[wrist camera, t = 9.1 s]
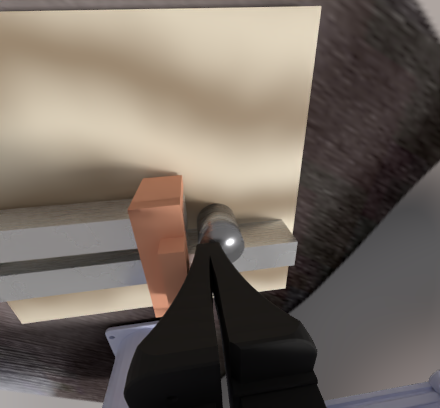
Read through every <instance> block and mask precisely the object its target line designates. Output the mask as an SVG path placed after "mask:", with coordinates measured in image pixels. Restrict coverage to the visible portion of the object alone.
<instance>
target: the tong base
mask: <svg viewBox="0 0 440 408" xmlns="http://www.w3.org/2000/svg"><path fill="white" fill-rule="evenodd" d="M211 242H219V243H220V245H221V247H222V249H223V251H224V252H225V254H226V255H227V257H228V258H229V260H230V261H231V263H232V264H233V265H234V267H235V268H236V269H237V270H238V272H243V271H251V270H259V269H267V268H275V267H283V266H291V265H294V263H295V256H296V249H297V242H298V241H297V240H296V239H295V237H294V236H293V234H292V233H291V232H290V230H289V229H288V227H287V226H286V225H285V223H284V222H283V220H282V219H281V220H271V221H262V222H253V223H243V224H237V221H236V218H235V215H234V213H233V211H232V210H231V209H230V208H229V207H228V206H226V205H224V204H218V203H216V204H210V205H208V206H206V207H204V208H203V209H202V210H201V211H200V212H199V214H198V216H197V228H196V229H188V243H187V248H188V256H189V263H190V267H191V264H192V261H193V258H194V255H195V250H196V245H197V244H202V243H211ZM141 284H147V282H146V278H145V274H144V270H143V267H142V263H141V259H140V255H139V252H138V248H137V249H127V250H118V251H109V252H99V253H90V254H81V255H71V256H62V257H52V258H43V259H34V260H24V261H15V262H6V263H0V302H7V301H15V300H23V299H30V298H38V297H46V296H54V295H62V294H70V293H78V292H86V291H94V290H101V289H109V288H117V287H125V286H133V285H141Z"/></svg>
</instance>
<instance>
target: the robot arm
mask: <svg viewBox="0 0 440 408" xmlns="http://www.w3.org/2000/svg"><path fill="white" fill-rule="evenodd" d="M213 297H214V301H215V306H216V310H217V315H218V320H219V325H220V330H221V338H222V346H223V354H224V362H225V370H226V378H227V386H228V394H229V403H230V408H440V370H437V371H436V372H434V373H433V374H432V375H431V376H430V378H429V381H428V382H423V383H417V384H412V385H407V386H402V387H396V388H391V389H385V390H380V391H375V392H369V393H364V394H358V395H353V396H347V397H342V398H337V399H332V400H326V401H324V400H323V398H322V396H321V393H320V391H319V389H318V386H317V383H318V380H317V377H316V375H315V373H314V371H313V368H314V364H315V360H316V357H317V349H316V346H315V344H314V342H313V340H312V338H311V337H310V335H309V333H308V332H307V330H306V329H305V327H304V326H303V324H302V323H301V322H300V321H298V320H297V319H295V318H294V317H292V316H290V315H289V314H287V313H285V312H284V311H282V310H281V309H279V308H278V307H277V306H275V305H274V304H273V303H271V302H270V301H269V300H268V299H266V298H265V297H264V296H263V295H261V294H260V293H259V292H258V291H257V290H256V289H255V288H253V287H252V286H251V285H250V284H249V283H248V282H247V281H246V280H245V278H244V277H243V276H242V275H241V274H240V273H239V272H238V270H237V269H236V268H235V267H234V265H233V264H232V263H231V261H230V260H229V258H228V257H227V255H226V254H225V252H224V251H223V249H222V247H221V245H220V243H219V242H211V243H202V244H197V245H196V250H195V255H194V258H193V261H192V264H191V267H190V269H189V272H188V274H187V276H186V279H185V281H184V283H183V285H182V287H181V289H180V290H179V292H178V294H177V296H176V297H175V299H174V300H173V302H172V304H171V305H170V307H169V308H168V310H167V311H166V312H165V314H164V315H163V316H162V318H161V319H160V320H159V321H152V322H145V323H138V324H131V325H124V326H117V327H110V328H108V329H107V330H106V332H105V335H106V338H107V340H108V342H109V344H110V346H111V349H112V351H113V353H114V355H115V357H116V358H115V361H114V365H113V369H112V373H111V376H110V380H109V384H108V388H107V391H106V395H105V399H104V403H103V407H102V408H223V405H222V390H221V376H220V363H219V354H218V345H217V338H216V330H215V323H214V315H213Z"/></svg>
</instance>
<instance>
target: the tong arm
mask: <svg viewBox="0 0 440 408" xmlns="http://www.w3.org/2000/svg"><path fill="white" fill-rule="evenodd" d="M131 201H132V199H122V200H110V201H99V202H87V203H76V204H64V205H52V206H41V207H29V208H17V209H6V210H0V263H6V262H15V261H24V260H34V259H43V258H52V257H62V256H71V255H81V254H90V253H99V252H109V251H118V250H127V249H137V244H136V241H135V237H134V233H133V229H132V226H131V222H130V218H129V214H128V211H127V209H128V207H129V205H130V203H131ZM182 213H183V220H184V227H185V234H186V241H187V243H188V220H187V211H186V203H185V195H184V194H183V208H182Z"/></svg>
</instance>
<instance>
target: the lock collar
mask: <svg viewBox="0 0 440 408" xmlns="http://www.w3.org/2000/svg"><path fill="white" fill-rule="evenodd" d="M182 208H183V180H182V175H176V176H164V177H152V178H143V179H142V181H141V183H140V185H139V187H138V189H137V191H136V193H135V195H134V197H133V199H132V201H131V203H130V205H129V207H128V209H127V211H128V214H129V218H130V222H131V226H132V229H133V233H134V237H135V241H136V244H137V248H138V252H139V255H140V259H141V263H142V267H143V270H144V274H145V278H146V282H147V285H148V289H149V293H150V296H151V300H152V304H153V308H154V311H155V315H156V318H158V317H162V316H163V315H164V314H165V312H166V311H167V310H168V308H169V307H170V305H171V304H172V302H173V300H174V299H175V297H176V296H177V294H178V292H179V290H180V289H181V287H182V285H183V283H184V281H185V279H186V276H187V274H188V272H189V269H190V263H189V256H188V248H187V241H186V234H185V227H184V220H183V213H182Z"/></svg>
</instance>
